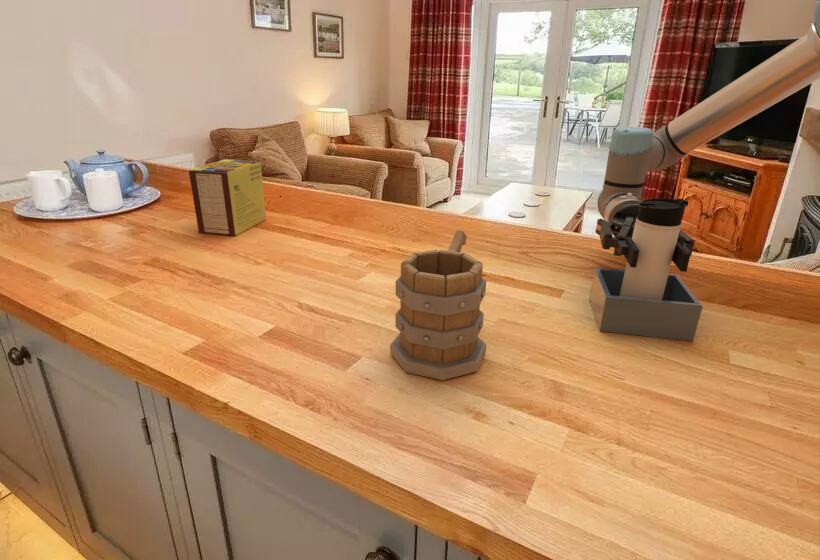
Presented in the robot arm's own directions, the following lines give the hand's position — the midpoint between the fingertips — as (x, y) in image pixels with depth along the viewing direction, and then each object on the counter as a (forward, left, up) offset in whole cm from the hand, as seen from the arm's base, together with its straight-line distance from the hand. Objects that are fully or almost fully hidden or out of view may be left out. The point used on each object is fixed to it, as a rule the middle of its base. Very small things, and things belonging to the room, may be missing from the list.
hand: (660, 260), depth 72 cm
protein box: (+91, -36, -12) cm, 99 cm away
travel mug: (0, -5, -12) cm, 13 cm away
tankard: (+30, +10, -12) cm, 34 cm away
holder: (0, -5, -12) cm, 13 cm away
